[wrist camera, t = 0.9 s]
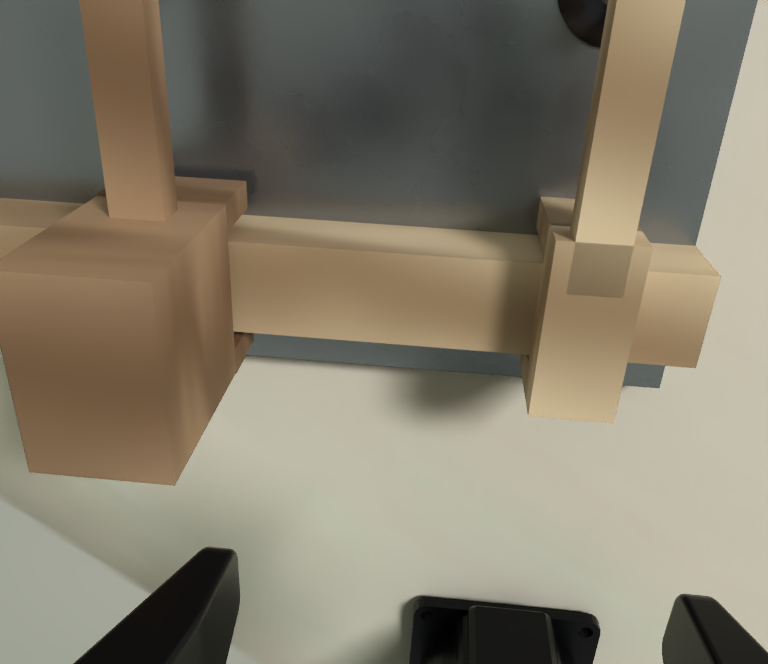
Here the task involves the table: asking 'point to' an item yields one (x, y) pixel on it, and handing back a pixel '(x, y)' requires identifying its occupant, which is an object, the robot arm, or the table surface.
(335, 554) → the table surface
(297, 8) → the steel plate
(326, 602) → the table surface
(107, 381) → the slider leg
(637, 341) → the compass bar
